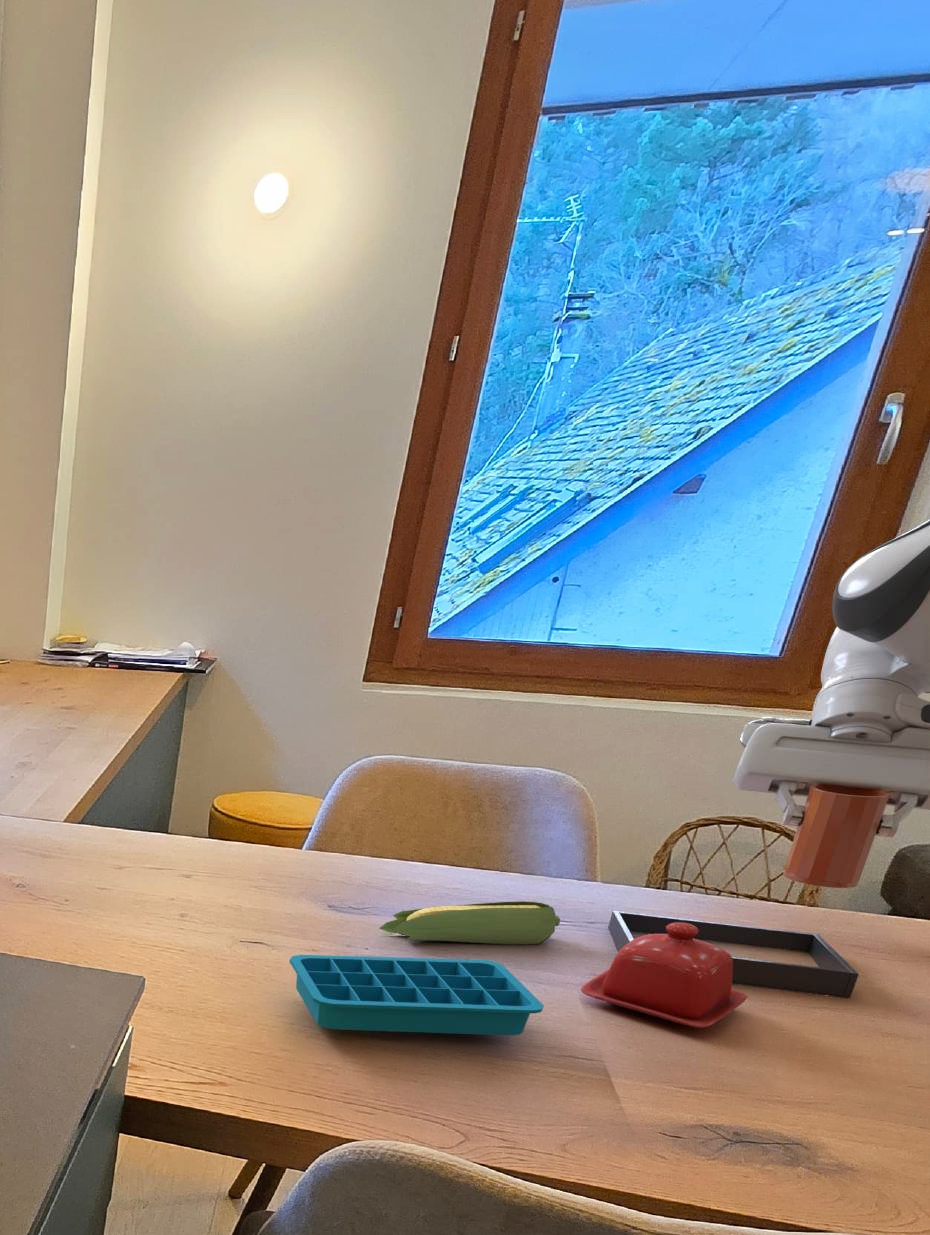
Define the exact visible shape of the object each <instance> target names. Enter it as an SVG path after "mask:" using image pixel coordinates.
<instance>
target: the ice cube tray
mask: <svg viewBox="0 0 930 1235" xmlns="http://www.w3.org/2000/svg"><path fill="white" fill-rule="evenodd" d="M289 964H290V965H291V967H292V969H293V971H294V972H295V973H296V984H295V989H296V991H297V992H298V994H299V996H300V998H301V999H302V1001H303V1003H304V1004H305V1006H306V1008H307V1009H308V1011H309V1013H310V1015H311V1016H312V1018H313V1020H314V1021H315V1023H316V1025H317V1026H319V1027H321V1028H325V1029H330V1030H343V1031H344V1030H345V1031H346V1030H347V1031H371V1032H372V1031H373V1032H398V1033H399V1032H401V1033H402V1032H403V1033H431V1034H435V1033H436V1034H456V1035H457V1034H459V1035H460V1034H461V1035H463V1034H464V1035H484V1036H485V1035H487V1036H520V1035H522V1033H524V1030H525V1027H526V1025H527V1023H528V1020H529V1017H530V1014H538V1013H542V1011H543V1009H544V1006H545V1005H544V1004H543V1003H542V1002H541V1001H540V1000H539V999H538V998H537V997H536V996H535V995H534V994H533V993H532V992H531V991H530V990H529V989H528V988H527V987H526V986H525V985H524V984H523V983H522V982H521V981H520V980H519V979H518V978H517V977H516V976H515V975H514V974H513V972H511V971H509V969H508V968H507V967H506V966H505V965H504V964H502V963H499V962H497V961H494V960H493V961H492V960H489V959H468V958H466V959H465V958H433V957H432V958H429V957H428V958H427V957H395V956H394V957H393V956H363V955H362V956H358V955H357V956H356V955H327V954H326V955H324V954H322V955H321V954H296V955H292V956H291V957H290V958H289Z"/></svg>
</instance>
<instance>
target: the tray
mask: <svg viewBox="0 0 930 1235" xmlns="http://www.w3.org/2000/svg"><path fill="white" fill-rule="evenodd" d="M676 922H682V923H688V924H691V925H694V926H695V927H697V929H698V934H697V935H696V936H694V938H693V939H697V940H701V941H708V942H717V943H725V944H734V945H742V946H751V947H759V948H768V949H776V950H785V951H793V952H802V953H808V955H809V956H810V957H811V958H812V960H813V961H814V962H815V963H816V965H817V966H810V965H802V964H795V963H787V962H780V961H779V962H777V961H770V960H764V959H763V960H762V959H755V958H745V957H739V956H732V959H733V975H732V985H737V986H738V985H739V984H740V985H739V986H746V987H755V988H763V989H771V990H779V991H785V990H786V991H785V992H794V993H802V994H809V993H811V994H810V995H816V994H817V996H824V995H829V996H828V997H833V996H834V997H833V998H840V999H848V998H850V999H851V997H852V994H853V992H854V989H855V986H856V984H857V981H858V978H859V975H860V974H859V972H858V971H857V970H856V969H855V968H854V967H853V966H852V965H850V964H849V963H848V961H846V959H844V957H843V956H842V955H840V954H839V953H838V951H837V950H835V949H834V948H833V947H832V946H831V944H829V942H828V941H826V940H825V939H824V938H823V937H822V936H821V934H819V933H811V932H803V931H802V932H801V931H794V930H793V931H792V930H785V929H777V928H776V929H775V928H769V927H768V928H767V927H759V926H750V925H741V924H734V923H733V924H732V923H724V922H717V921H716V922H715V921H708V920H707V921H706V920H697V919H690V918H689V919H687V918H682V917H681V918H679V917H672V916H662V915H653V914H645V913H637V912H629V911H628V912H627V911H618V910H612V911H611V915H610V920H609V922H608V926H607V928H608V930H609V932H610V936H611V938H612V941H613V944H614V946H615V948H616V951H617V953H618V952H619V951H620V950H621V949H622V948H623V947H624V946H625V945H626V944H628V943H629V942H631V941H632V940H634V939H635V938H634V936H633V934H632V933H640V934H646V935H648V934H668V932H667V930H666V926H667V925H669V924H671V923H676Z"/></svg>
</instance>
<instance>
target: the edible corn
mask: <svg viewBox="0 0 930 1235" xmlns="http://www.w3.org/2000/svg"><path fill="white" fill-rule="evenodd" d="M392 916H393V917H394V919H393V920H390V921H386V922H385V923H384V924H383V925H381V926H380V927H379V928H378V929H379V930H381V931H384V932H386V933H389V934H392V933H399V934H401V935H406V936H405V937H407V938H405V939H404V941H428V942H450V943H453V942H457V943H472V944H491V945H537V946H538V945H539V944H541V943H543V942H545V941H547V940H548V939H549V938H551V936H553V934H554V933H555V931H556V927H559V925H560V923H561V918H560V917H559V915H556V912H555V909H554V907H552V906H550V905H549V904H547V903H543V902H538V901H521V900H520V901H519V900H518V901H499V902H497V901H496V902H484V903H482V902H481V903H468V904H457V905H438V906H428V907H424V908H418V909H417V908H416V909H409V910H402V911H399V912H397V913H394V914H393V915H392Z"/></svg>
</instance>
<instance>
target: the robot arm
mask: <svg viewBox="0 0 930 1235" xmlns="http://www.w3.org/2000/svg"><path fill="white" fill-rule="evenodd" d="M832 596H833V597H832V617H833V622H834V624H835V626H836V627H835V629H834V632H833V633H832V635H831V637H830V640H829V642H828V645H827V648H826V650H825V654H824V657H823V662H822V666H821V671H820V682H821V686H822V687H821V689H820V690H819V692H818V693H817V695H816V697H815V699H814V703H813V707H812V711H811V716H810V719H802V718H801V719H800V718H799V719H797V718H777V717H773V716H764V717H761V719H756V720H752V721H750V722H748V723H746V724H745V725H744V727H743V728H742V729H741V733H740V734H741V735H740V739H739V741H740V744H741V746H742V747H743V749H744V750H743V752H742V755H741V757H740V759H739V762H738V764H737V767H736V771H735V773H734V774H733V775H734V776H733V780H732V783H733V784H734V785H735V787H737V788H738V790H740V791H746V792H756V793H764V794H765V793H766V794H775V797H774V802H775V803H776V804H777V806H778V807H779V809H780V810H781V812H782V814H783V818H782V823H781V825H783V826H791V827H798V826H799V825H800V823H801V821H802V818H803V812H804V809H805V805H800V804H797V803H796V801H795V799H794V797H793V796H795V797H804V798H807V797H808V794H809V791H810V787H811V786H812V785H816V784H825V785H835V786H845V787H855V788H865V789H875V790H882V791H885V792H887V793H889V794H890V798H889V800H888V803H887V806H890V807H893V814H884V815H883V817H882V820H881V823H880V826H879V829H878V831H877V834H876V837H877V836H878V837H885V838H894V837H895V835H896V833H898V832H897V831H898V829H899V826H900V823H901V822H902V821H905V819H906V818H908V816H910V815H911V814H912V812H913V810H914V809H917V810H927V811H928V810H929V811H930V701H929V700H926V699H923V698H921V697H920V695H922V694H923V693H925V694H930V519H928V520H927V521H925V522H923V523H921V524H919V525H918V526H917V527H914V528H913V529H911V530H909V531H907V532H905V533H903V534H901V535H899V536H897V537H895V538H892V539H891V540H889V541H887V542H884V543H882V544H881V545H879V546H877V547H876V548H874V549H871V550H870V551H868V552H867V553H865V554H864V555H862V556H861V557H859V558H858V559H857V560H855V561H854V562H853V563H852V564H851V565H850V566H848V568H847V569H846V570H845V571H844V572H843V573H842V574H841V576H840V577H839V579H838V580H837V583H836V585H835V588H834V592H833V595H832Z"/></svg>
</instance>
